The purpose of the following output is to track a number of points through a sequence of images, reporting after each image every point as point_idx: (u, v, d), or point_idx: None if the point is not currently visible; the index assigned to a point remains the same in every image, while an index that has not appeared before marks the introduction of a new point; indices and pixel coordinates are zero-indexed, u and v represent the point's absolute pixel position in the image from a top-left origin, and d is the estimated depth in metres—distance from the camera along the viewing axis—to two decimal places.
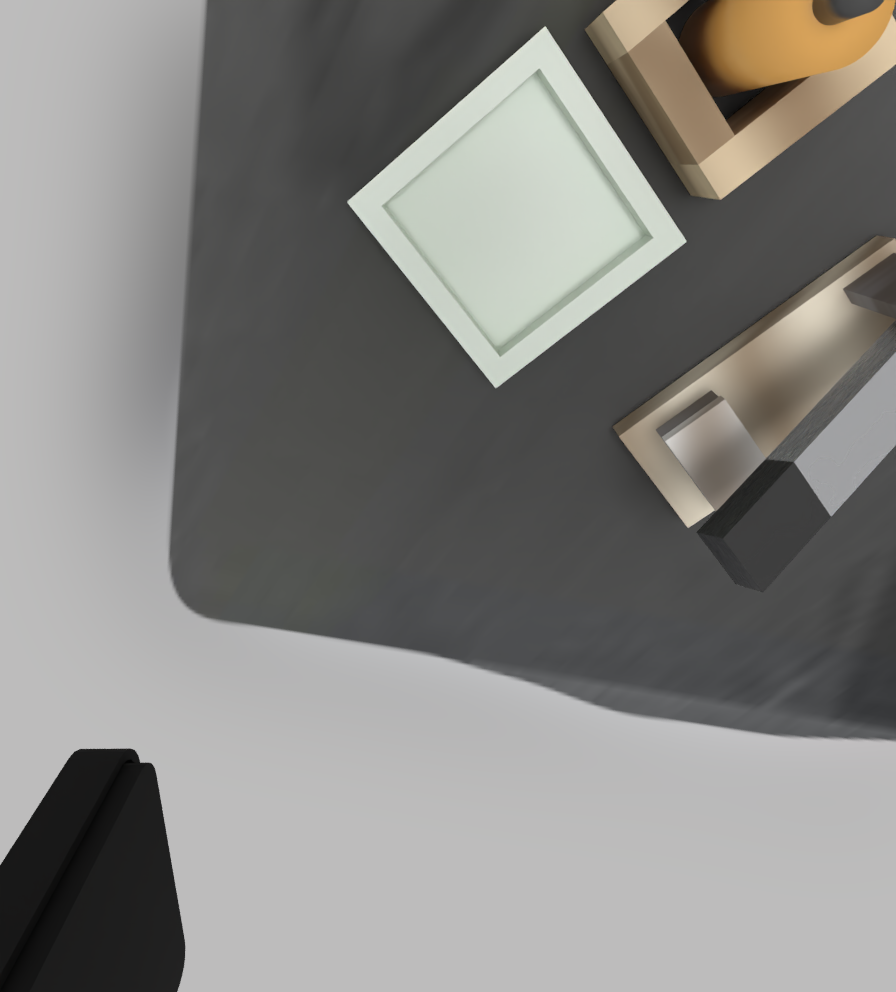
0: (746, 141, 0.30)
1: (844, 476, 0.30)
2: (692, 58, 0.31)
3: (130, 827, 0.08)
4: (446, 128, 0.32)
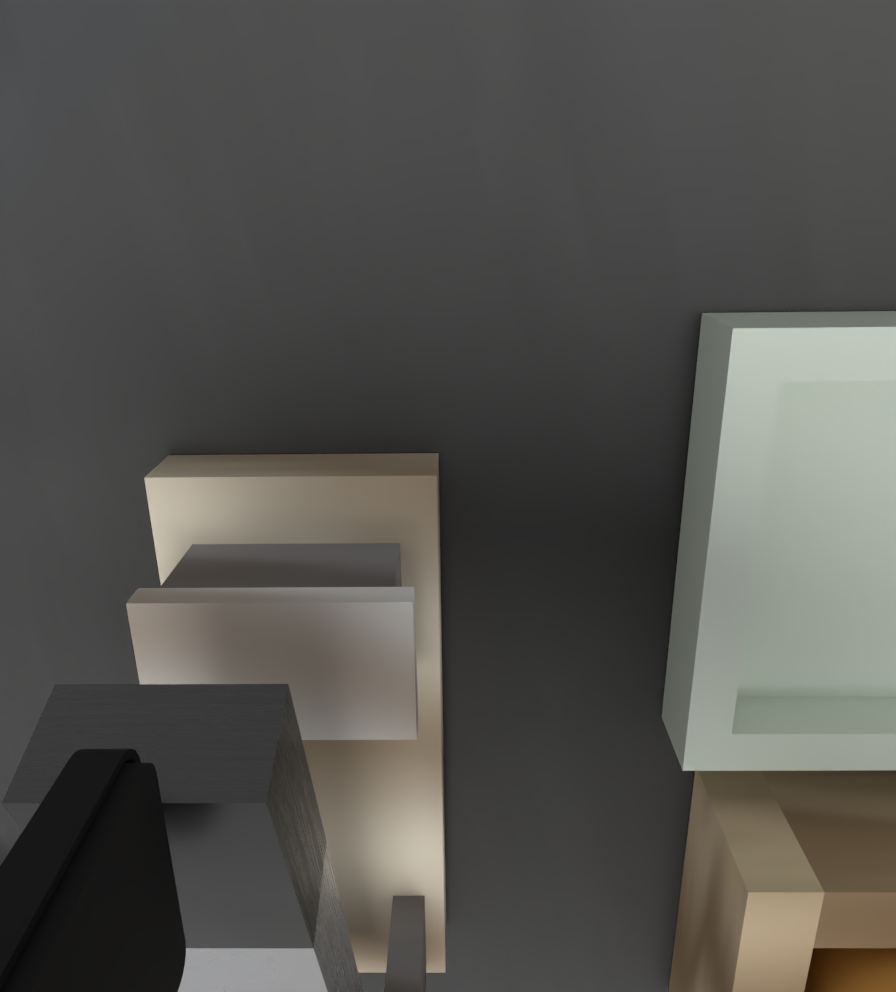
0: (791, 956, 0.18)
1: (189, 983, 0.12)
2: None
3: (131, 827, 0.08)
4: None
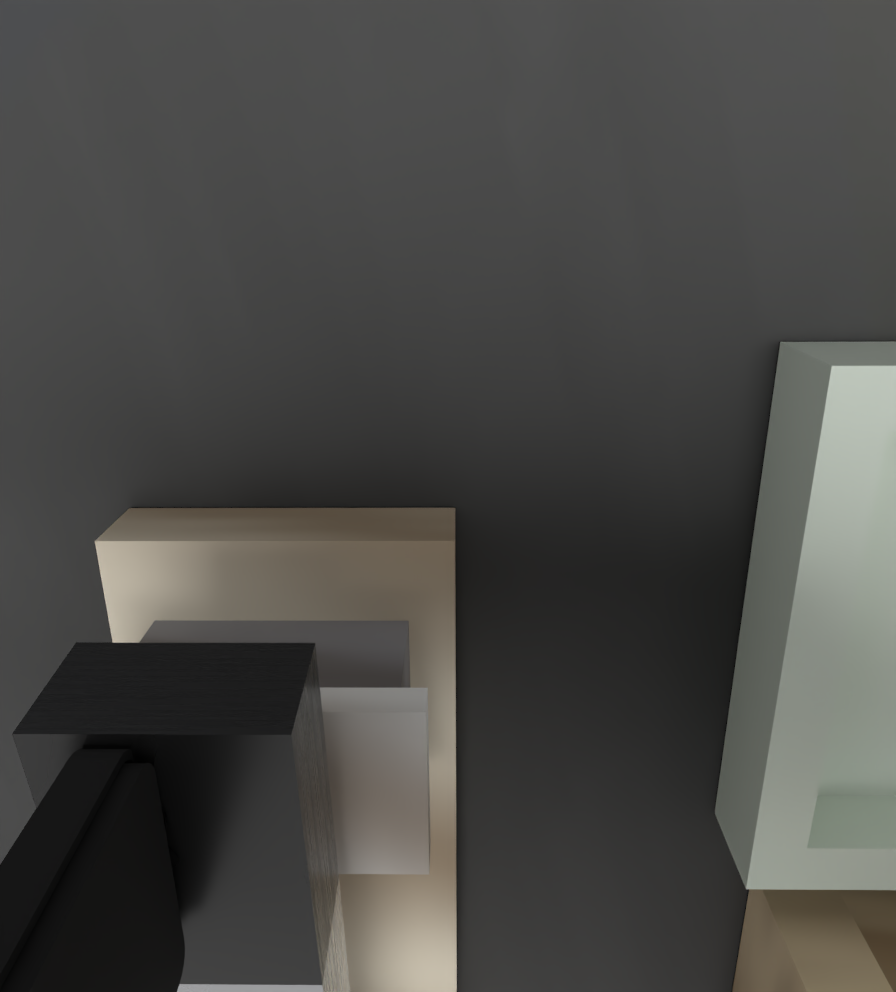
0: None
1: None
2: None
3: (129, 827, 0.08)
4: None
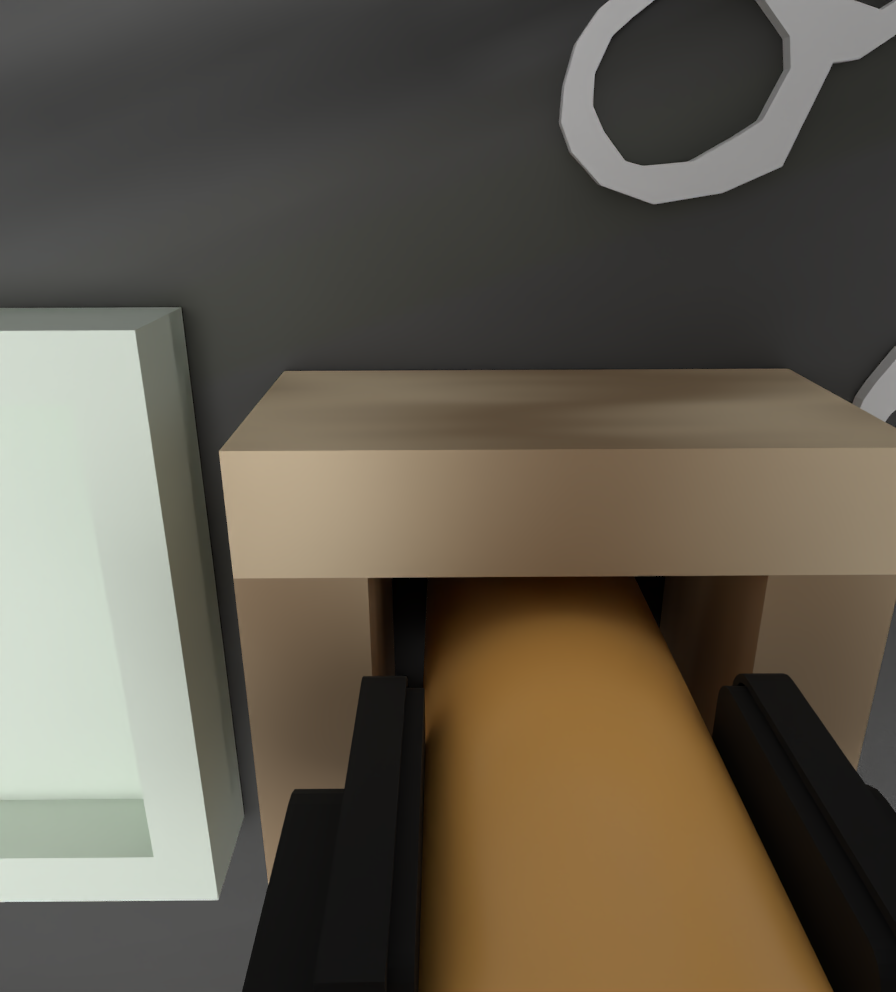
0: None
1: None
2: (430, 620, 0.12)
3: (422, 739, 0.09)
4: None
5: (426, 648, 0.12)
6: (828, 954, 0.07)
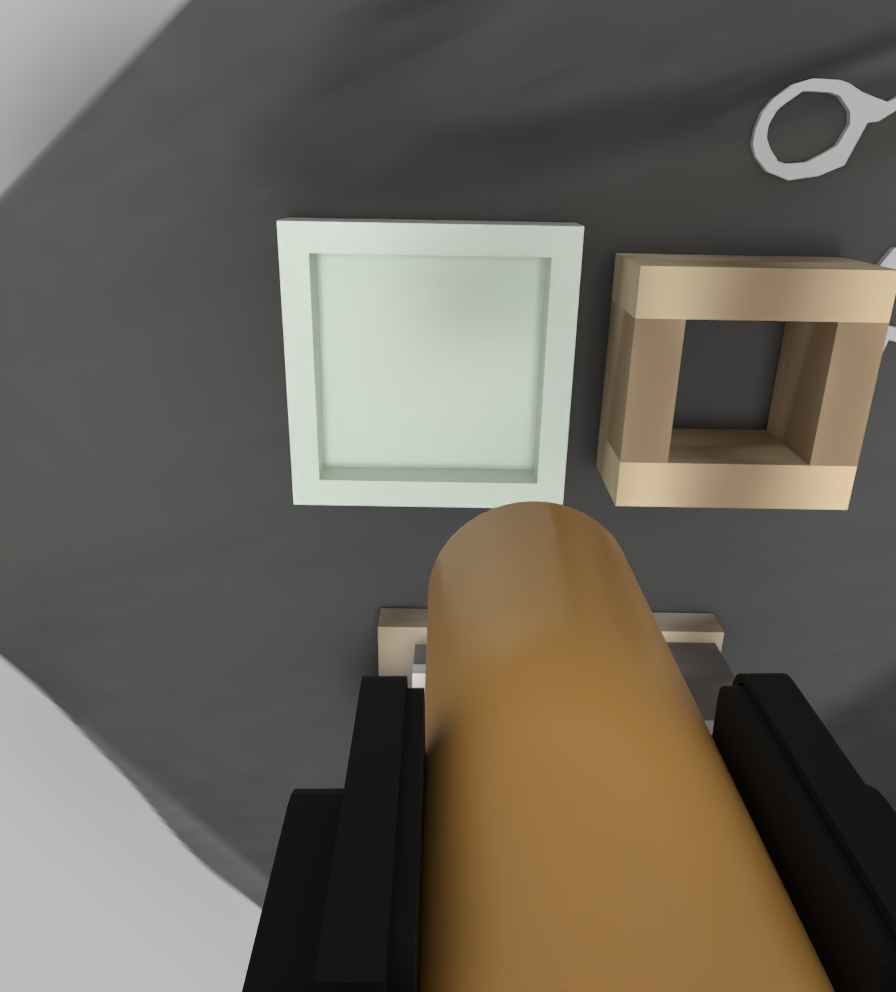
0: (672, 475, 0.27)
1: None
2: (432, 623, 0.12)
3: (422, 739, 0.09)
4: (426, 236, 0.26)
5: (428, 651, 0.12)
6: (828, 954, 0.07)
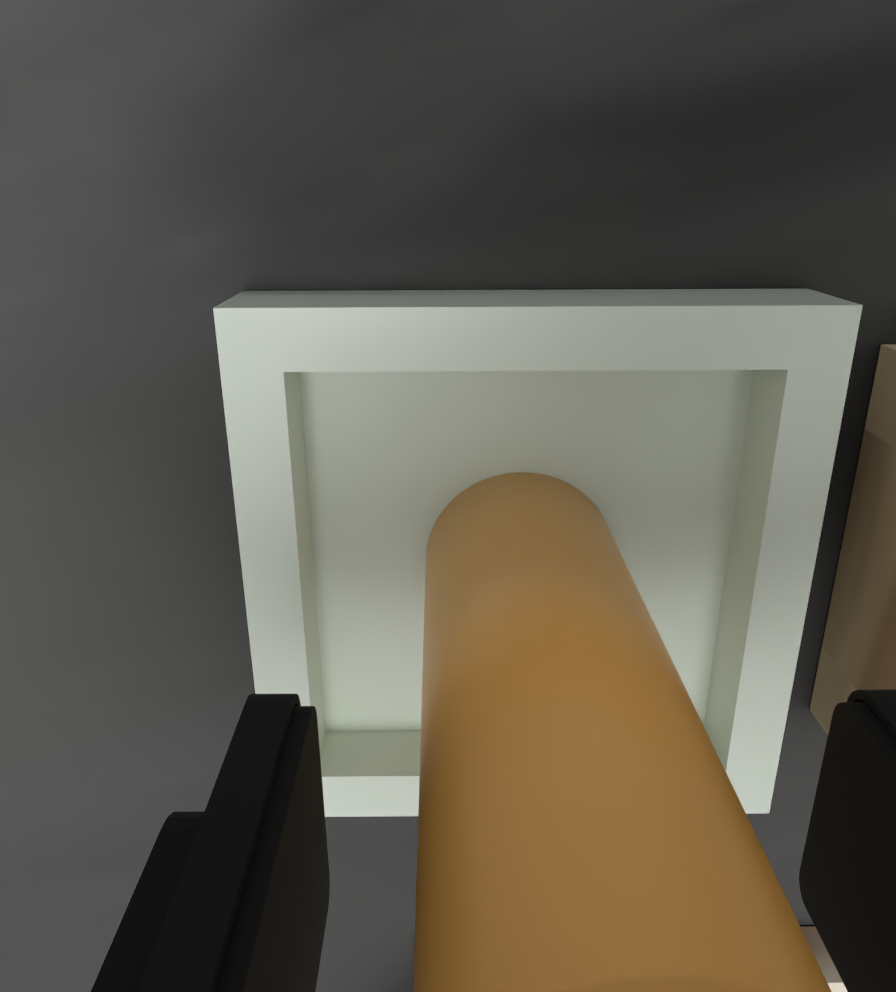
0: None
1: None
2: (429, 581, 0.13)
3: (306, 760, 0.08)
4: (530, 333, 0.12)
5: (426, 605, 0.13)
6: None
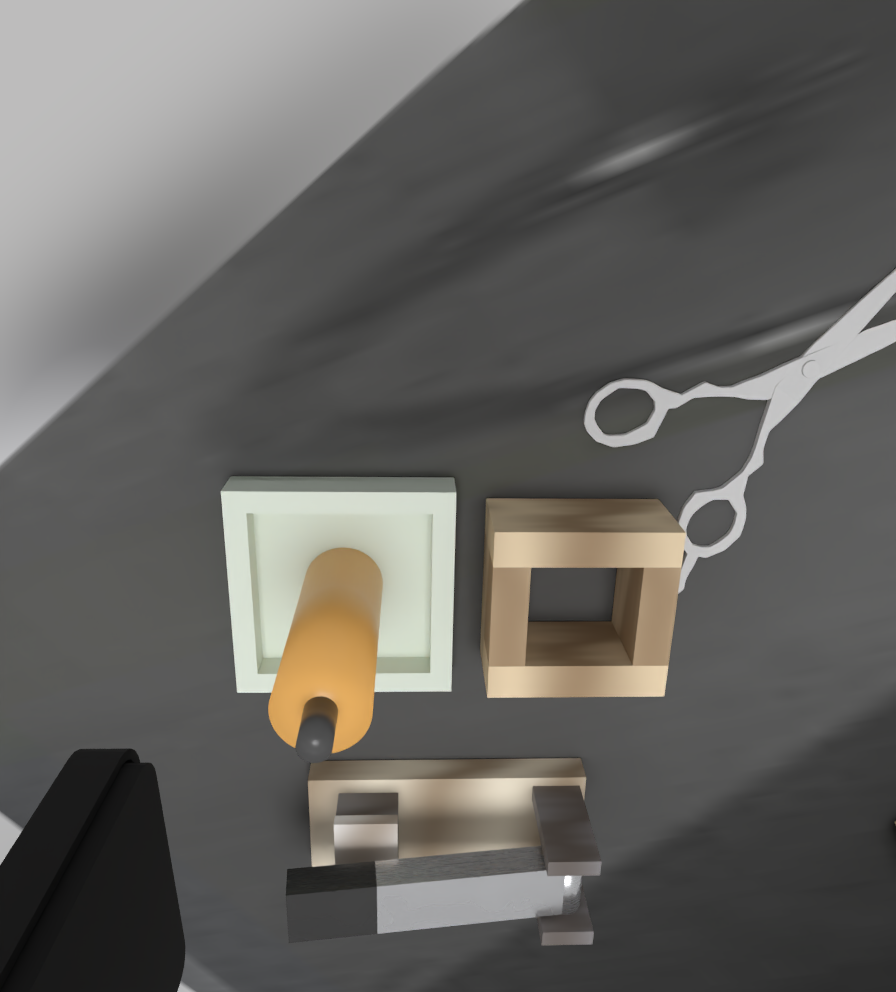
0: (529, 675, 0.35)
1: (407, 918, 0.37)
2: (301, 590, 0.35)
3: (130, 827, 0.08)
4: (336, 501, 0.34)
5: None
6: None
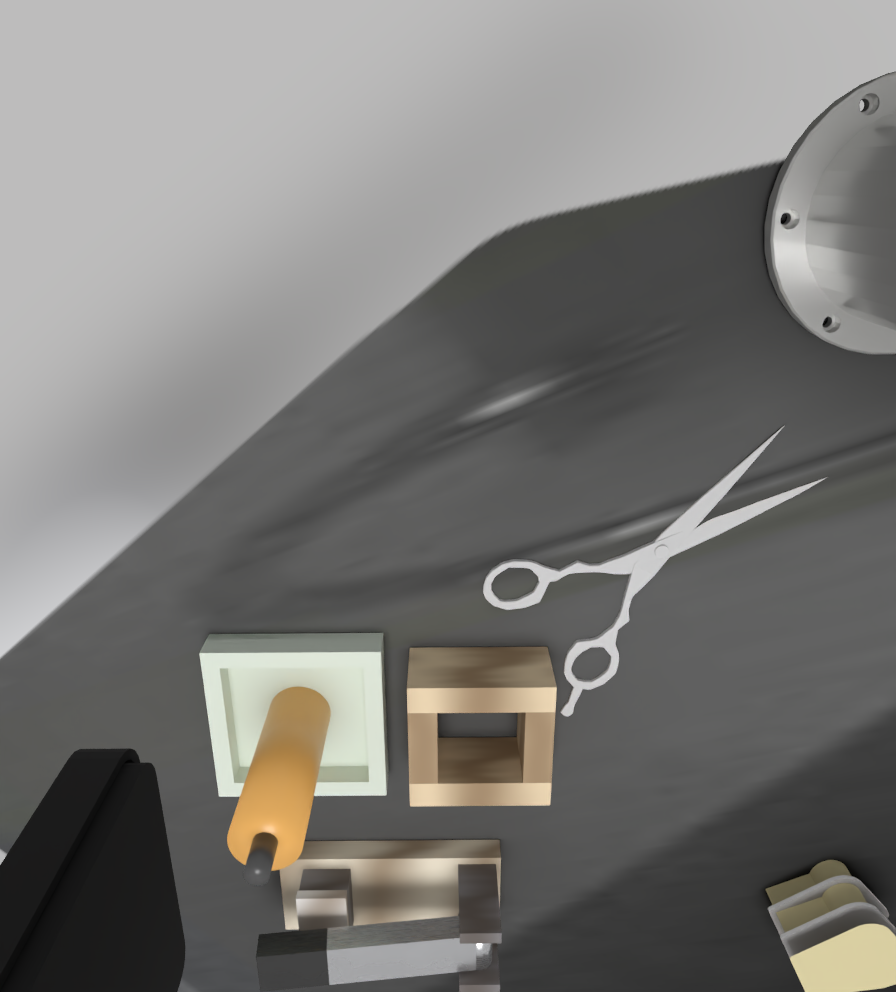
0: (442, 789, 0.45)
1: (352, 973, 0.47)
2: None
3: (130, 827, 0.08)
4: (288, 659, 0.44)
5: None
6: None
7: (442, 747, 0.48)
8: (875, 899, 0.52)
